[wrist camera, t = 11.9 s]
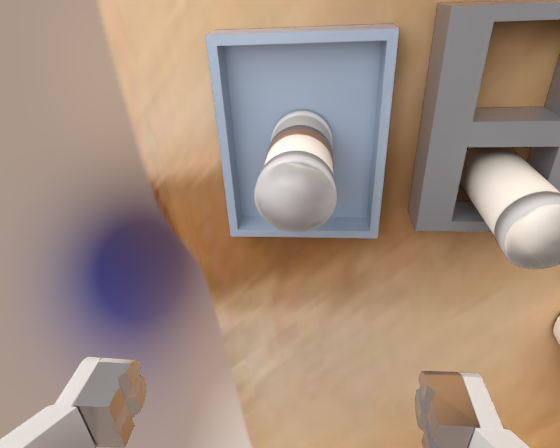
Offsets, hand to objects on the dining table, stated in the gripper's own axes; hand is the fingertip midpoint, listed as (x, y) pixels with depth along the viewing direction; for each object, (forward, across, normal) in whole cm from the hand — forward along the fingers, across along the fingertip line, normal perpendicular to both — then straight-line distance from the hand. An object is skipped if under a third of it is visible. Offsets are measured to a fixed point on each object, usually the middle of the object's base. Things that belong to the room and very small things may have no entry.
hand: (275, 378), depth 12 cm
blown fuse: (+20, 0, 0) cm, 20 cm away
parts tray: (+20, 0, +1) cm, 20 cm away
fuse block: (+20, +13, +2) cm, 24 cm away
